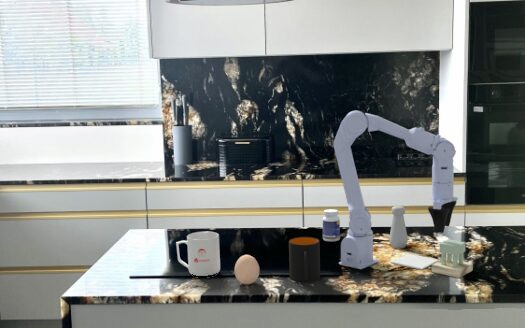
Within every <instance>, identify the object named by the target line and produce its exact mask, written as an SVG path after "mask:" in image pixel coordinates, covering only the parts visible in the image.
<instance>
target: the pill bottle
mask: <svg viewBox="0 0 525 328" xmlns="http://www.w3.org/2000/svg"><path fill="white" fill-rule="evenodd" d="M323 215H324V216H323V217H322V239H323V241H325V242H337V241H338V242H339V240H340V238H341V228H340V227H341V224H340V223H341V221H340V217H339V216H338V215H339V211H338V209H334V208H333V209H330V208H329V209H324V210H323Z"/></svg>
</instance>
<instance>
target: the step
mask: <svg viewBox="0 0 525 328" xmlns="http://www.w3.org/2000/svg"><path fill="white" fill-rule="evenodd" d="M473 268H474V264H473V262H469V261H468V262H467V261H464V260H463V264H459V260H458V267H453V258H452V261H451V262H447V257H446V265H441V260H439V261H438V262H436V263H434V264H432V265H431V273H434V274H439V275H445V276H448V277H453V278H458V279H459V278H462V277H464V276H465V275H467V274H469V273H471V272H472V271H473Z"/></svg>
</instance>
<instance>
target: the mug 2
mask: <svg viewBox="0 0 525 328" xmlns="http://www.w3.org/2000/svg"><path fill="white" fill-rule="evenodd" d="M320 244H321V243H320V239H319V238H316V237H312V236H299V237H293V238H291V239H289V240H288V255H289V256H288V257H289V258H288V259H289V279H290V280H291V281H292V282H295V283H301V284H305V283H306V284H307V283H313V282H317V281H319V280H320V279H321V255H320V254H321V253H320V251H321V250H320V248H321V247H320Z"/></svg>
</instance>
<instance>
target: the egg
mask: <svg viewBox="0 0 525 328" xmlns="http://www.w3.org/2000/svg"><path fill="white" fill-rule="evenodd" d="M234 265H235V266H234V275H235V276H234V277H235V278H236V279H237V281H239V282H240V283H242V284H243V285H251V284H253V283H254V282H256V281H257V279H259V276H260V266H259V263H258V261H257V260H256V258H255V257H253V256H251V255H250V254H244V255H241V256H240V257H239V258H238V259H237V261H236V262H235V264H234Z"/></svg>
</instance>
